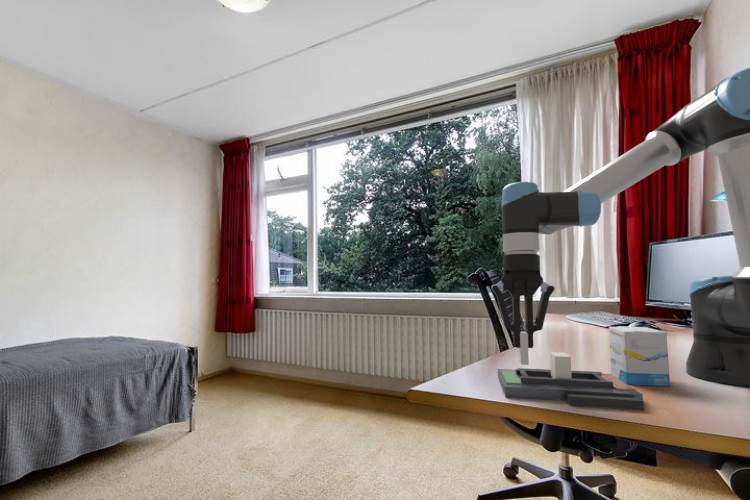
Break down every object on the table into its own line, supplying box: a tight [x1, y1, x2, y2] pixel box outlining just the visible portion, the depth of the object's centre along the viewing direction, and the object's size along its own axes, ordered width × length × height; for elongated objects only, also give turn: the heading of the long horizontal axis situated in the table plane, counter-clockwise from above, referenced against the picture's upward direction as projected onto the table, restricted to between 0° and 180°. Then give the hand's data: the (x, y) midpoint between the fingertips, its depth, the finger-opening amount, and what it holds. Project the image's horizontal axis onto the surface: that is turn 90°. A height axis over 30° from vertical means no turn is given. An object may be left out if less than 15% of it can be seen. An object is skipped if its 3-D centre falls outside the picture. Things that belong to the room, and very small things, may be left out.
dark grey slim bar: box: [517, 367, 604, 374], centre depth 85 cm, size 18×2×2 cm, turn 77°
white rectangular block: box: [549, 351, 572, 379], centre depth 76 cm, size 3×4×5 cm
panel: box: [497, 368, 644, 402], centre depth 76 cm, size 24×14×3 cm, turn 77°
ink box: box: [608, 325, 671, 387], centre depth 83 cm, size 9×8×12 cm
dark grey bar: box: [567, 394, 645, 411], centre depth 66 cm, size 12×2×2 cm, turn 77°
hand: (523, 363), depth 78 cm, fingers closed
